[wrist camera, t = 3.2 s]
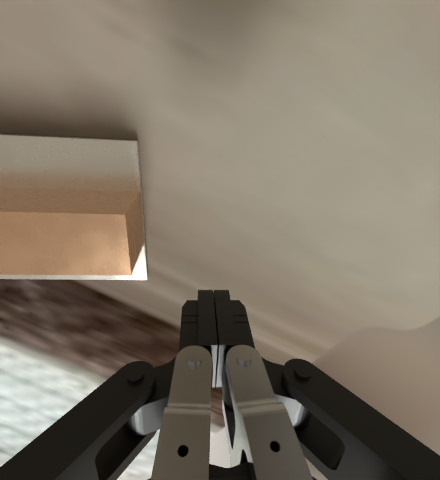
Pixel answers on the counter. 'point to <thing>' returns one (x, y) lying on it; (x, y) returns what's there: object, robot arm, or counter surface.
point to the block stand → (73, 175)
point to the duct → (69, 231)
